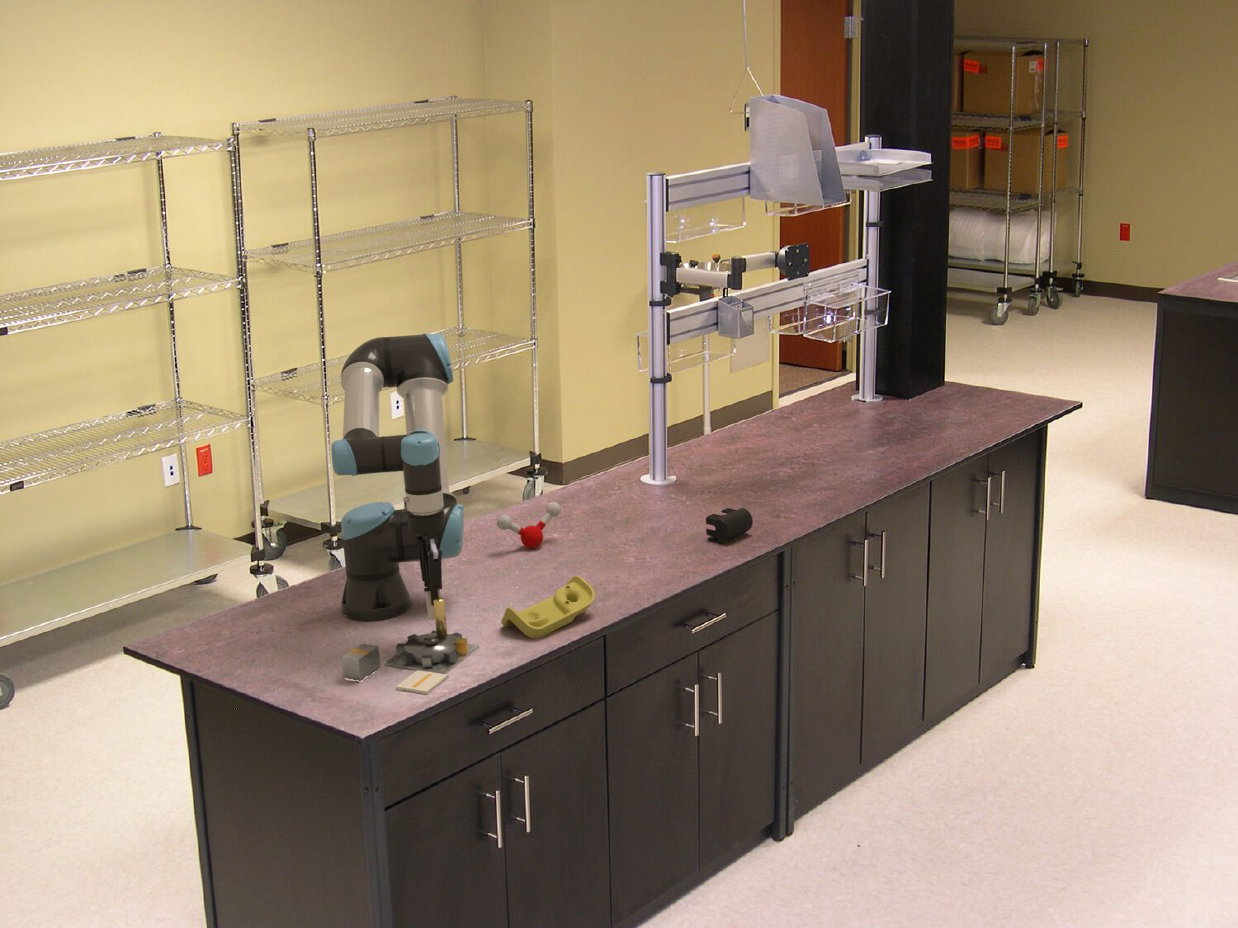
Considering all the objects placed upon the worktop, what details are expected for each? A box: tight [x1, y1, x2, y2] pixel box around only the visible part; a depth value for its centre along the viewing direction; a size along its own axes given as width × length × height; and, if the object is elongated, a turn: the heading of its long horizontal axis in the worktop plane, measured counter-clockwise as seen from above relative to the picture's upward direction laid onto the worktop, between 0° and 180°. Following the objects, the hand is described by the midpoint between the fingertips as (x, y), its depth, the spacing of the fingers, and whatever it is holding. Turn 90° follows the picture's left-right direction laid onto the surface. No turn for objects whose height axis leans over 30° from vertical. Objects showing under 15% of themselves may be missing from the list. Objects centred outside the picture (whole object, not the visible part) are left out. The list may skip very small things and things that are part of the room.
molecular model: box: [496, 501, 562, 549], centre depth 360 cm, size 18×6×10 cm, turn 131°
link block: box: [341, 643, 381, 681], centre depth 293 cm, size 4×7×5 cm, turn 155°
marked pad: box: [395, 670, 449, 695], centre depth 288 cm, size 7×8×1 cm
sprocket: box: [395, 597, 469, 667], centre depth 299 cm, size 14×14×10 cm
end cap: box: [705, 507, 754, 545], centre depth 360 cm, size 10×7×7 cm
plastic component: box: [500, 575, 596, 639], centre depth 315 cm, size 20×7×10 cm
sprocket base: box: [384, 643, 480, 674], centre depth 301 cm, size 14×14×1 cm
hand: (435, 617), depth 307 cm, fingers closed
